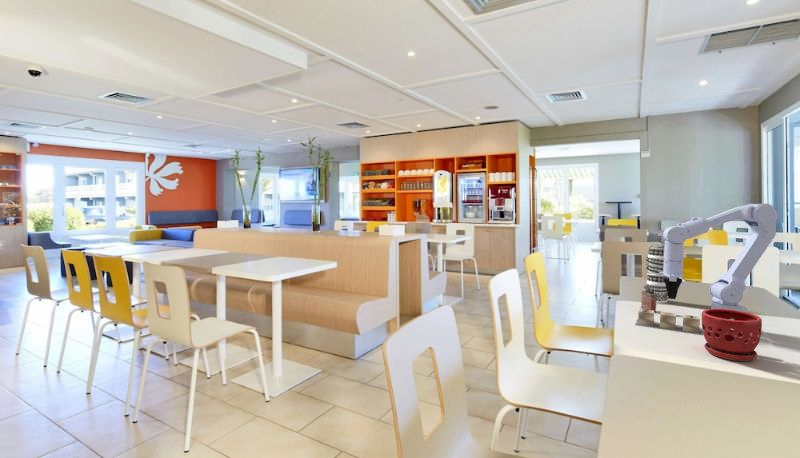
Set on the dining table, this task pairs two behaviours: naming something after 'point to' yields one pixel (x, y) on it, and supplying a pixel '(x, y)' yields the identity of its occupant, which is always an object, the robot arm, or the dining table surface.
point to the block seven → (646, 317)
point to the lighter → (648, 299)
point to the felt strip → (678, 329)
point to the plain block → (668, 320)
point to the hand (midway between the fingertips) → (671, 298)
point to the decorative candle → (657, 272)
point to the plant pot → (731, 333)
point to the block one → (691, 323)
